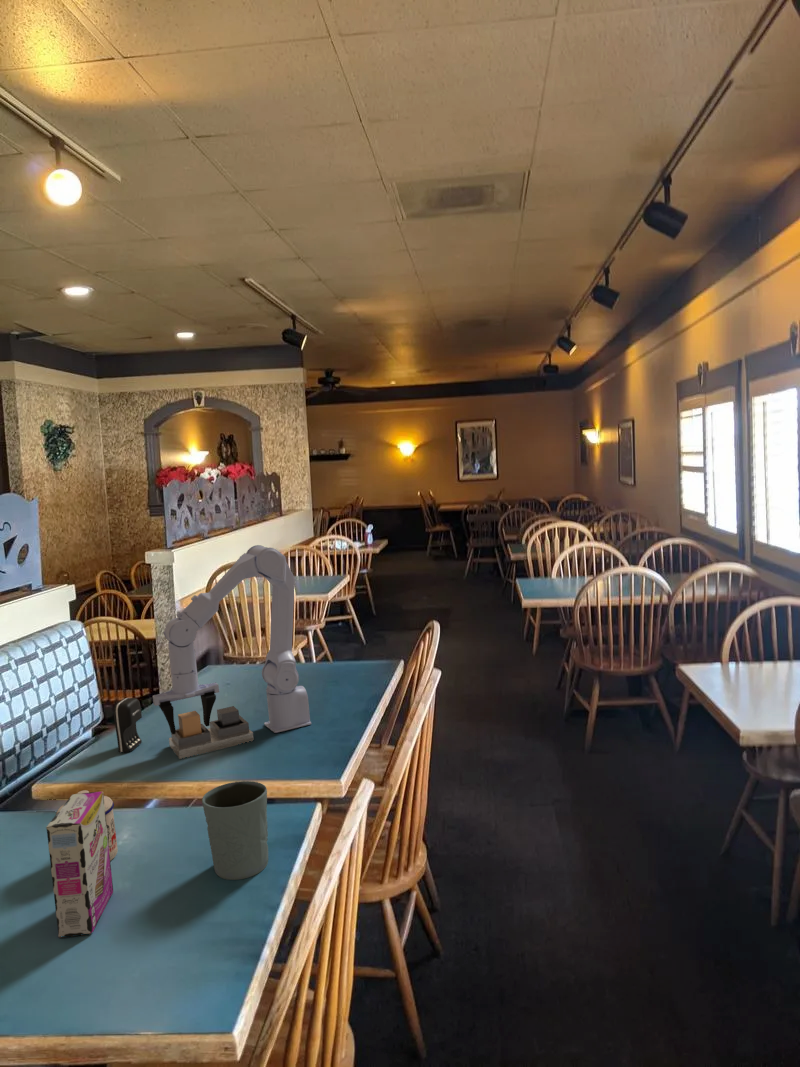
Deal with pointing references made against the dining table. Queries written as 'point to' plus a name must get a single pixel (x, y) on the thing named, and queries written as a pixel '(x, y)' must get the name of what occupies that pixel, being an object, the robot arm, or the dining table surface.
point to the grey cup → (237, 828)
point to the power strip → (214, 735)
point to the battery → (127, 724)
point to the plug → (189, 724)
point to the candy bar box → (80, 863)
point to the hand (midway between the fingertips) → (190, 728)
